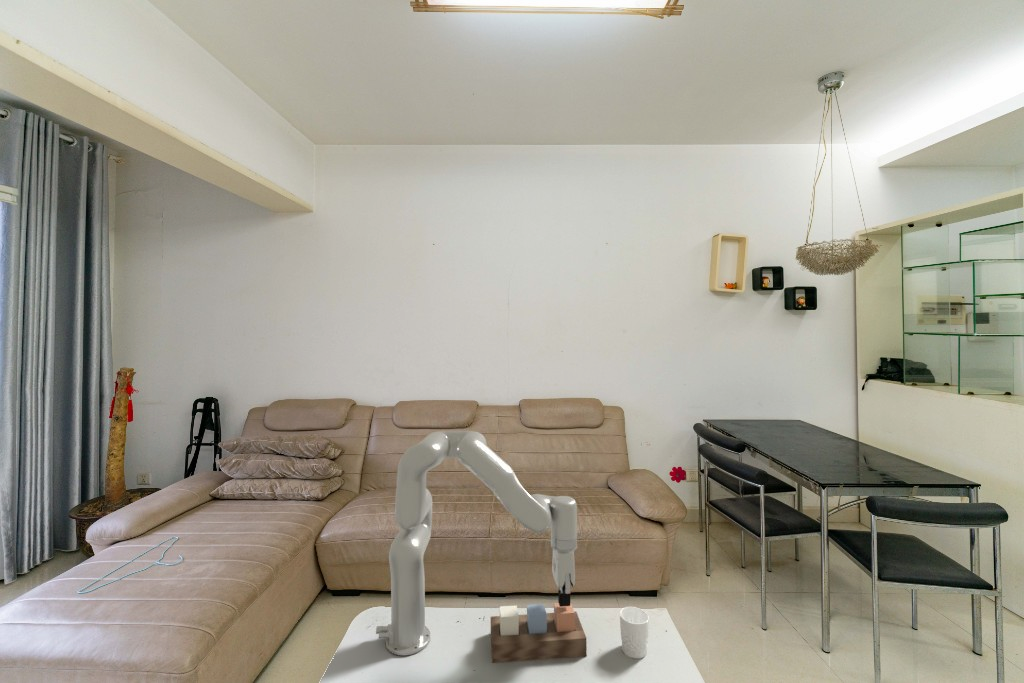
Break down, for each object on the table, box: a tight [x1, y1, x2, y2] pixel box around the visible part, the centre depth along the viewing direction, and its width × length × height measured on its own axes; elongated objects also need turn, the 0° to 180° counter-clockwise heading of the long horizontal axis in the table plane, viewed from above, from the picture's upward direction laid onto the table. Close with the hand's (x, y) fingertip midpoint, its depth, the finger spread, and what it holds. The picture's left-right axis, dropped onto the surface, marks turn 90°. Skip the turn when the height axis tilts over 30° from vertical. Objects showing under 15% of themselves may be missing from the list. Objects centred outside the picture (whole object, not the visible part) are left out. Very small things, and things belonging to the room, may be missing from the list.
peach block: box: [553, 601, 575, 632], centre depth 126 cm, size 5×5×6 cm
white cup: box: [619, 606, 650, 659], centre depth 123 cm, size 8×8×10 cm
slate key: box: [526, 603, 547, 634], centre depth 126 cm, size 5×5×6 cm
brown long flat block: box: [490, 611, 588, 664], centre depth 126 cm, size 26×12×5 cm, turn 95°
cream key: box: [499, 605, 519, 636], centre depth 125 cm, size 5×5×6 cm
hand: (564, 604), depth 126 cm, fingers closed
